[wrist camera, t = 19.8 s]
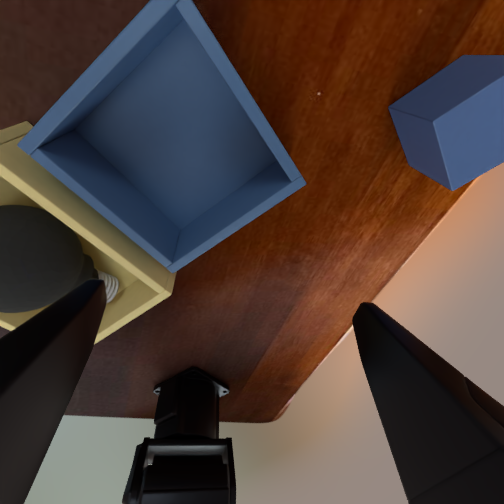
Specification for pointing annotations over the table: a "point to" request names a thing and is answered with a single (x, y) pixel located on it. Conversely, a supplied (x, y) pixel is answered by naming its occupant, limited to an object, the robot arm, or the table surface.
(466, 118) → the blue block
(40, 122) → the blue bin
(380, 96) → the table surface
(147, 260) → the cream bin
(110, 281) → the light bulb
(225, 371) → the table surface
